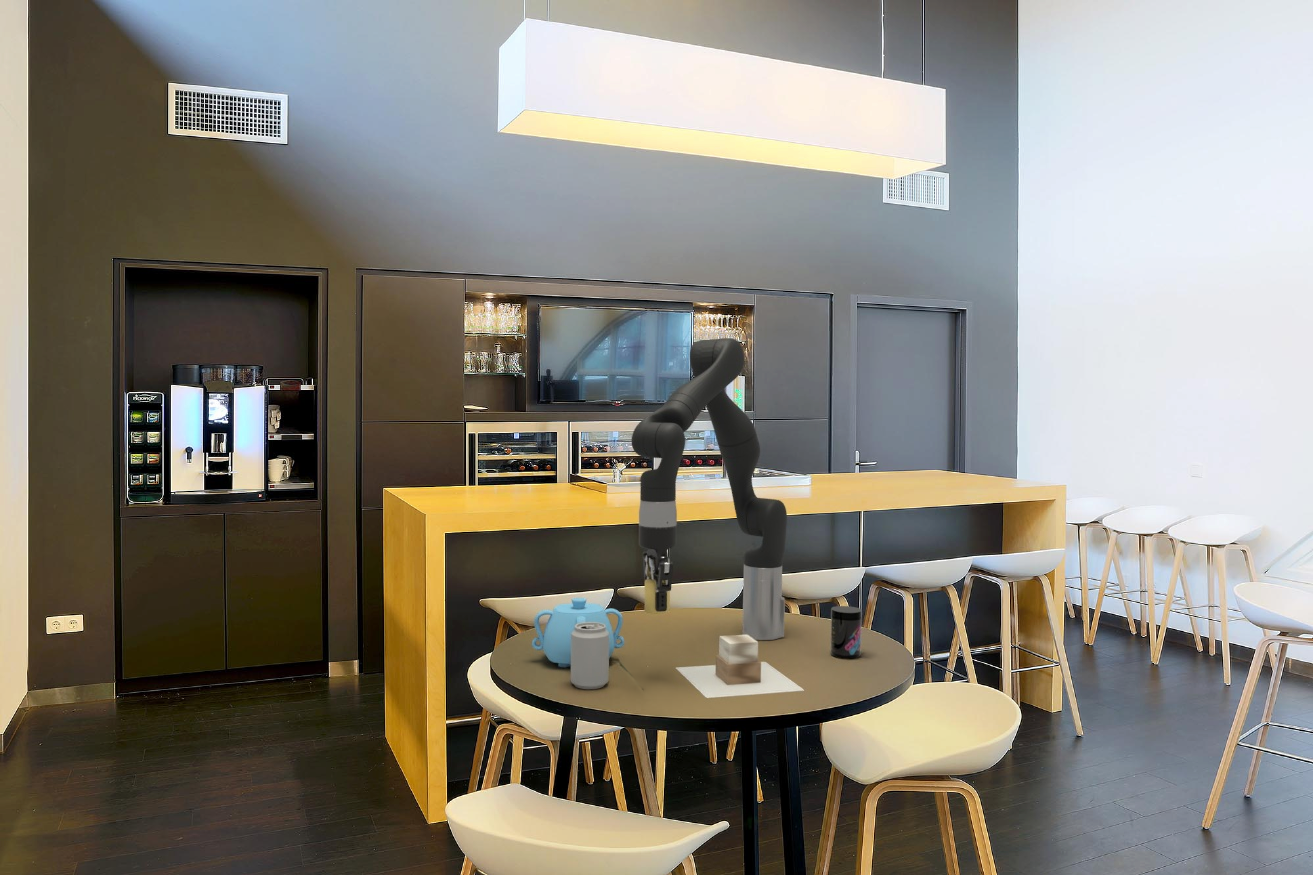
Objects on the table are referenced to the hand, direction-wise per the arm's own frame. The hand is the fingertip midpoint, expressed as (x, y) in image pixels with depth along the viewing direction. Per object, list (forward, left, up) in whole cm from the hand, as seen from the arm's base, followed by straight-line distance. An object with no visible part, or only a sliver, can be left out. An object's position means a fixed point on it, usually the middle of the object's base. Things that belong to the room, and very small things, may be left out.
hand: (657, 607), depth 185 cm
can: (+13, -2, -15) cm, 20 cm away
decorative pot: (+12, -19, -15) cm, 27 cm away
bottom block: (-16, +4, -14) cm, 22 cm away
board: (-16, +4, -15) cm, 22 cm away
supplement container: (-47, -10, -15) cm, 50 cm away
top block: (-16, +4, -10) cm, 19 cm away
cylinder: (0, 0, -1) cm, 1 cm away
